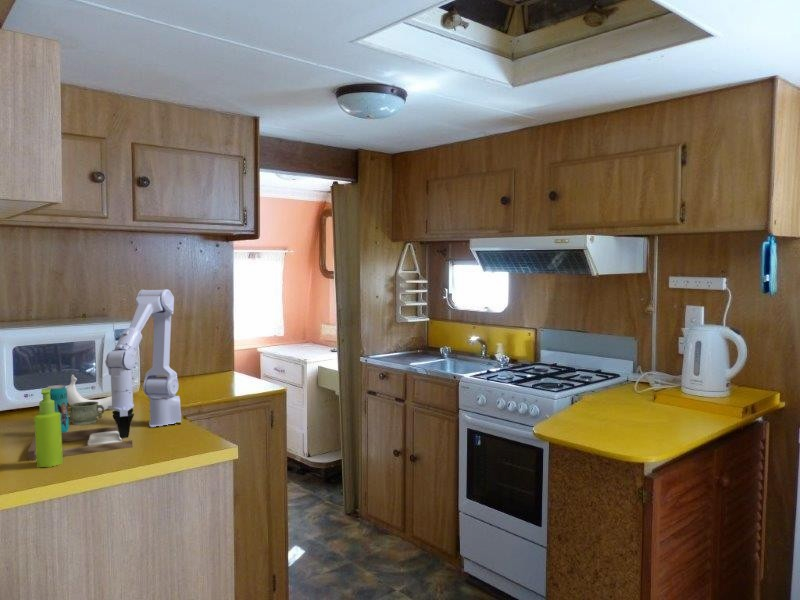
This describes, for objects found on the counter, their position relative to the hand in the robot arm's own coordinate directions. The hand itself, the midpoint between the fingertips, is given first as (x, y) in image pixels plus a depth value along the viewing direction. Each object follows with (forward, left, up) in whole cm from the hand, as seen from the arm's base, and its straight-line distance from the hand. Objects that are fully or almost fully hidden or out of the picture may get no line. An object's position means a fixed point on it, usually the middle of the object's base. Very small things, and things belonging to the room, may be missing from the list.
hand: (124, 435), depth 182 cm
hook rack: (+11, 0, -1) cm, 11 cm away
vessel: (+11, -33, -2) cm, 35 cm away
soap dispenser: (+18, +16, -2) cm, 24 cm away
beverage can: (+18, -19, -2) cm, 26 cm away
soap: (+5, -1, -2) cm, 6 cm away
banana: (+8, -48, -2) cm, 49 cm away
